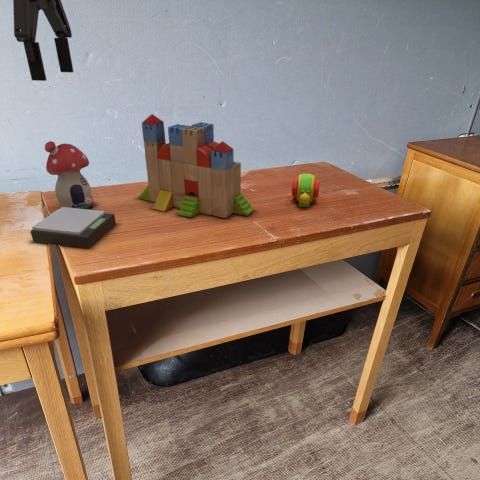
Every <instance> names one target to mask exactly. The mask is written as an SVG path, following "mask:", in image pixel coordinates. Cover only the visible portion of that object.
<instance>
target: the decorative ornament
mask: <svg viewBox="0 0 480 480" xmlns="http://www.w3.org/2000/svg"><path fill="white" fill-rule="evenodd" d="M44 151H45V152H47V153H49V154H48V156H47V159H46V163H45V169H46V172H47V173H48V174H49V175H52V176H57V179H56V182H55V186H54V191H55V192H54V194H55V197H56V199H57V201H58V203H59V204H60V206H61V207H68V208H77V209H87V210H91V208H93V207H94V198H93V195H92V189H91V185H90V184H89V181H88V180H87V178H86V177H85V176H84V175H83V174H82V173H81V170H83V169H84V168H86V167H88V166H89V165H90V160H89V159H88V157H87V156H86V154H85V153H84V152H83V151H82V150H81V149H79V148H78V147H77V146H75V145H74V144H70V143H61V144H58V145H56V143H55V142H54V141H51V140H50V141H47V142H46V143H45V144H44Z"/></svg>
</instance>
